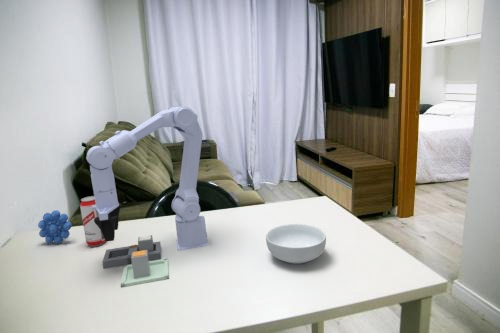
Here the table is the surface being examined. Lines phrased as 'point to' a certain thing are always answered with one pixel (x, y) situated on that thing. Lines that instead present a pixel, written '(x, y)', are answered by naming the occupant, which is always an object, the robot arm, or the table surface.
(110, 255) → the grey double window frame
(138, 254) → the plug
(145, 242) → the twin plug
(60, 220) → the blue lumpy cluster
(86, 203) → the beer can
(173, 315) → the table surface
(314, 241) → the cereal bowl
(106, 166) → the robot arm
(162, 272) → the tray
